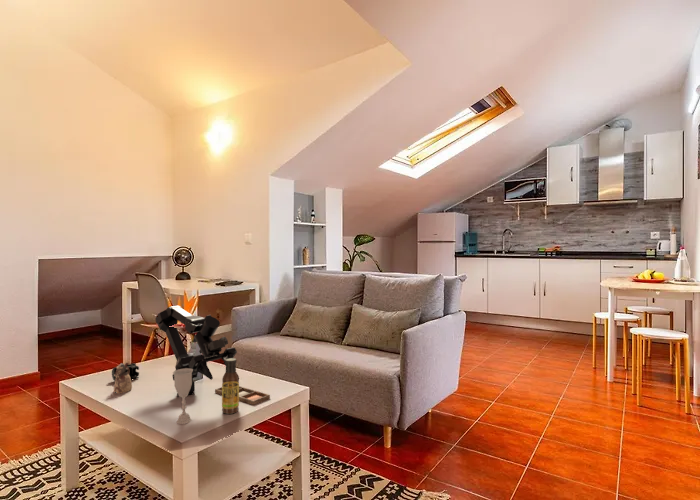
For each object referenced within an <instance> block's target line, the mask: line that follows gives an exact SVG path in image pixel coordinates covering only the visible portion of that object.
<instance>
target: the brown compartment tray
mask: <svg viewBox="0 0 700 500" xmlns="http://www.w3.org/2000/svg"><path fill="white" fill-rule="evenodd" d="M214 389H215V390H214V393H215V394H218V395H221V396H222V386H221V387H217V388H214ZM270 399H271V394H269V393H265V392H261V391H257V390H254V389H250V388H247V387H244V386H240V385H239V402H243V403H246V404H249V405H251V406H252V405H253V406H255V405H257V404H259V403H262V402H264V401H267V400H270Z"/></svg>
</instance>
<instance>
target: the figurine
mask: <svg viewBox="0 0 700 500" xmlns="http://www.w3.org/2000/svg"><path fill="white" fill-rule="evenodd" d="M129 364H130V363H129V362H125V364H124V363H120V364H119V365H117V366H116V367H117V370H116V373H115V375H114V376H115V377H116V379H115V381H114V386H113V393H114V392H117V393H116V394H124V393H123V392H125V393H129V392H130V391H132V388H133V383H132V380H131V378H130V376H129V372H130V370H129V368H128V367H127V365H129ZM126 369H127V370H128V371H127V372H125V371H126Z"/></svg>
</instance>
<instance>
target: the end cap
mask: <svg viewBox="0 0 700 500" xmlns="http://www.w3.org/2000/svg"><path fill="white" fill-rule="evenodd" d="M127 367H128V368H129V370H130V372H129V376H130V378H131V381H133V380H132V379H135V380H137V379H136V378H139V376H140V372H139V370H140V366H138V365H137V364H136V363H135V362H134V363H129V364H128V365H127ZM116 370H117V366H116V367H113V368H112V370H111V377H112V380H113V381H114V382H115V379H116V377H115V376H114V375H115V373H116ZM127 371H128V370H127V369H126V371H125V372H127Z"/></svg>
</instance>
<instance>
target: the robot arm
mask: <svg viewBox="0 0 700 500" xmlns="http://www.w3.org/2000/svg"><path fill="white" fill-rule="evenodd" d="M157 316H158V317H157ZM155 322H156V325H157V326H158V328H159V329H160V330H161V331H162V332H163V333H165V334H166V337H167V339H168V342H169V344H170V347H171V350H172V352H173V354H174V357H175V361H176V362H175V366H174V367H175V370H174V371H176V370H179V369H185V368H189V369H193V371H192V385H191V388H190V391H189V393H188V395H187V396H190V395H194V394H195V391H196V390H195V385H196V383H195V380H194V379H195V378H197V377H198V374H199V373H200V374H201V375H203V376H205V377H206V378H207V379H209V380H211V381H212V380H213V378H214V377H213V375H212V373H211V371H210V369H209V367H208V363H209V362H212V361H216V360H217V361H218V360H222V361H223V364H224V366H225V367H226V364H225V360H226V359H229V358H234V357H236V354H237V353H238V351H237V349H236V348H235V347H234V346H233V347H228V348H225V347H226V346H227V345H228V344H229V341H228V338H227V337H226V336H222V337H220V338H219V339H215V340H213V338H212V337H213V336H215V333H216V332H217V330H218V329H219V327H220V326H221V325H220V324H221V323H220V321H219V320H218V319H217V318H216V317H213V316H212V315H211V314H208V315H206V316H205V317H202V316H200V315H193V314H192V313H190V312H188V311H187V310H185V309H184V308H182V306H180V305H171V306H169V307H167V308H166V309H164V310H162V311H160V312H159V313H158V314H157V315H156V317H155ZM178 322H180V323H181V324H183V325H184V329H185V330H186V331H187V332H188V333H189V334H194V333H195V334H194V336H193V340H192V342H193V343H196V344H197V346H198V348H199V351H198V352H199V353H200V354H198V355H189V354H188V351H187V349H186V346H185V344H184V342H183V339H182V337H181V335H180V332H179V331H178V328H174V327H169V326H172V325H174V324H177V325H178ZM222 348H225V349H224V351H223V352H222V350H223V349H222ZM220 352H222V353H220ZM172 380H173V381H174V374H173V373H172ZM176 396H177V397H179V395H178V393H177V392H176Z"/></svg>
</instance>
